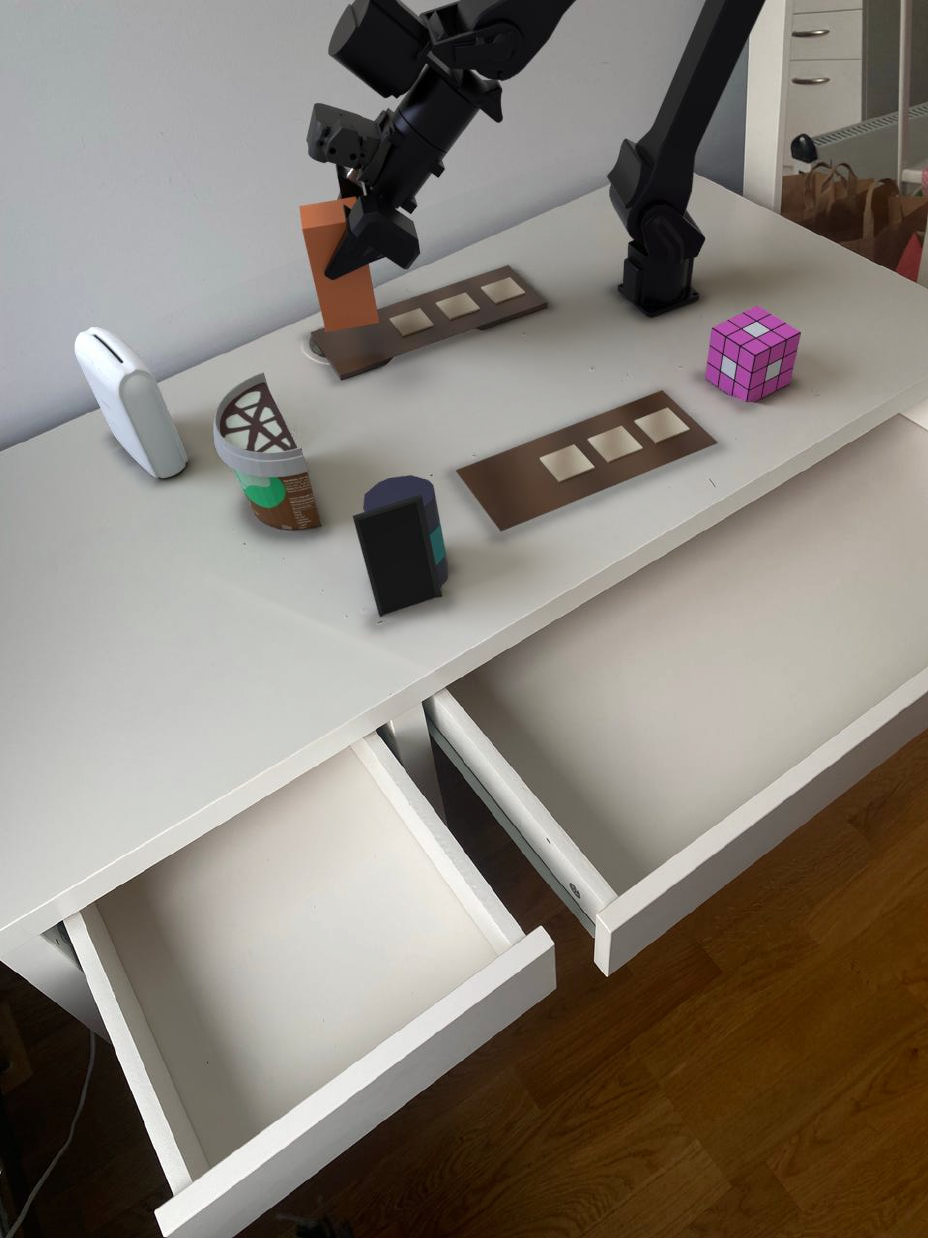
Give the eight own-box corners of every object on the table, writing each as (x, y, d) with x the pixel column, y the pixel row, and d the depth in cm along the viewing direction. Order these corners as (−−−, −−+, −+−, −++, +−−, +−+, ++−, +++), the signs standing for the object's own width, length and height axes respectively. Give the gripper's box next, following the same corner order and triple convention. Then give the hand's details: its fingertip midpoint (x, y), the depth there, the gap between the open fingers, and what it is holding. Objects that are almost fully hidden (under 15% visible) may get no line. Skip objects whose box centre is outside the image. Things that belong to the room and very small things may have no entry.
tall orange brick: (374, 299, 98) (356, 195, 90) (379, 323, 95) (360, 218, 87) (322, 308, 98) (299, 205, 89) (325, 332, 95) (301, 228, 87)
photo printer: (109, 436, 93) (57, 328, 84) (147, 416, 95) (100, 308, 85) (156, 487, 88) (106, 377, 78) (196, 465, 89) (152, 355, 80)
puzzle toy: (745, 407, 88) (755, 355, 84) (704, 378, 91) (711, 327, 87) (790, 383, 90) (802, 331, 85) (748, 355, 93) (757, 304, 89)
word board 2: (661, 394, 90) (662, 387, 90) (717, 447, 85) (718, 440, 84) (455, 474, 86) (455, 468, 85) (500, 536, 80) (500, 529, 80)
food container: (225, 478, 88) (192, 390, 80) (287, 456, 89) (261, 368, 81) (259, 564, 80) (227, 476, 73) (327, 540, 82) (303, 451, 74)
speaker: (450, 616, 75) (429, 514, 67) (379, 623, 75) (351, 522, 68) (453, 553, 80) (434, 453, 73) (386, 560, 81) (360, 460, 73)
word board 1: (508, 269, 107) (508, 262, 106) (547, 307, 101) (547, 300, 101) (311, 336, 101) (309, 330, 101) (340, 380, 96) (339, 373, 95)
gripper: (339, 30, 85) (250, 172, 93) (359, 115, 73) (255, 269, 81) (434, 107, 92) (343, 234, 100) (467, 197, 80) (361, 333, 88)
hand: (326, 263), depth 92 cm, fingers closed on tall orange brick, 4 cm apart
